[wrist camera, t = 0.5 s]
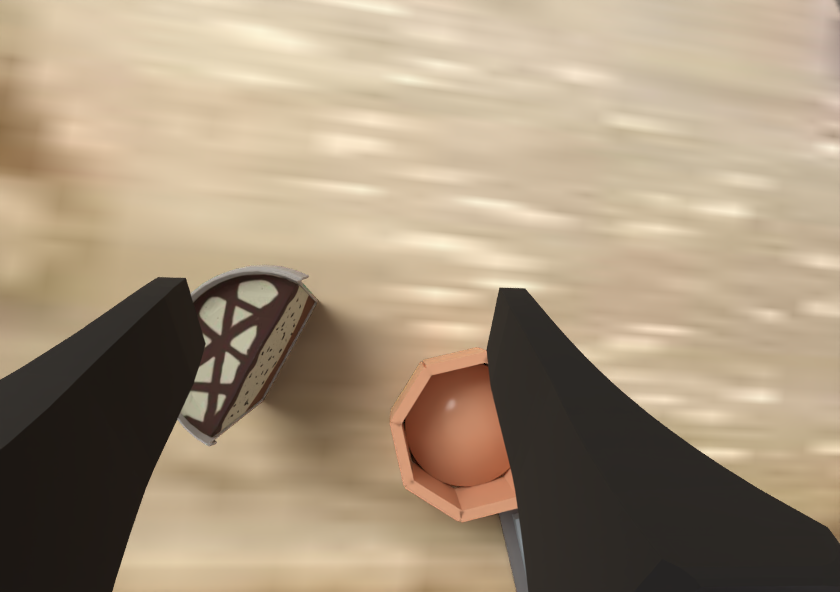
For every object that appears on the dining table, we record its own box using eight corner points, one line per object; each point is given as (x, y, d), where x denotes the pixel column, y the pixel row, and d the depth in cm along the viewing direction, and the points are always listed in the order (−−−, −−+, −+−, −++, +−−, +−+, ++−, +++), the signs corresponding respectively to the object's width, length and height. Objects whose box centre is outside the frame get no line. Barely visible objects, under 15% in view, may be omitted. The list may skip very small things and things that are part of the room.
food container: (261, 249, 39) (213, 225, 29) (327, 284, 39) (302, 272, 29) (186, 382, 38) (110, 405, 28) (253, 418, 38) (202, 453, 28)
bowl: (548, 474, 39) (568, 495, 34) (412, 509, 38) (414, 534, 34) (516, 338, 39) (532, 340, 35) (381, 369, 39) (379, 376, 34)
